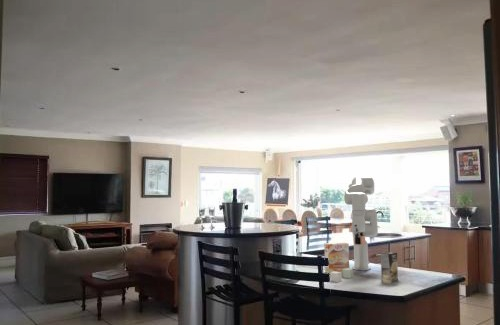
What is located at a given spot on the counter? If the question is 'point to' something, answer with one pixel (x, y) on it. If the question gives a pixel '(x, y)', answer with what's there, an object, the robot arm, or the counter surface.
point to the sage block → (347, 272)
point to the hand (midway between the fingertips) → (359, 243)
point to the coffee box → (389, 264)
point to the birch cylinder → (386, 278)
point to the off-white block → (335, 276)
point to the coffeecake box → (337, 256)
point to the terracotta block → (362, 239)
